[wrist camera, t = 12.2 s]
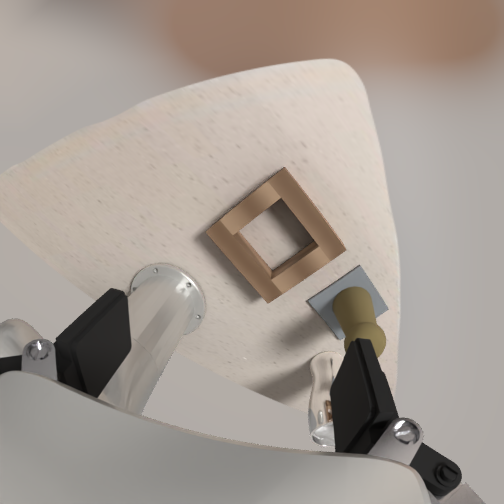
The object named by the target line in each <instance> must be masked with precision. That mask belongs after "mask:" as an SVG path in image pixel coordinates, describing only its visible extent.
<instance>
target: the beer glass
mask: <svg viewBox="0 0 504 504" xmlns="http://www.w3.org/2000/svg"><path fill="white" fill-rule="evenodd" d="M343 359H344V357H343V356H342V355H341V354H339V353H337V352H333V351H327V352H322V353H320V354H318V355H316V356H315V357H314V358H313V359H312V360H311V362H310V366H309V367H310V372H311V375H312V379H313V384H312V389H311V394H310V399H309V405H308V423H309V431H310V440H311V442H312V443H314V444H315V445H318V446H321V447H335V440H334V429H333V419H332V409H331V399H330V389H331V386H332V383H333V381H334V379H335V377H336V375H337V372H338V370H339V368H340V366H341V363H342V361H343Z"/></svg>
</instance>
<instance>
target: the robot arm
mask: <svg viewBox="0 0 504 504" xmlns="http://www.w3.org/2000/svg"><path fill="white" fill-rule="evenodd" d="M189 282H190V283H191V284H190V283H189ZM205 311H206V303H205V297H204V295H203V292H202V290H201V288H200V287H199V285H198V283H197V282H196V281H195V280H194V279H193V278H192V277H191V276H190V275H189V274H188V273H187V272H185V271H183V270H182V269H180V268H178V267H176V266H173V265H169V264H161V263H158V264H152V265H149V266H147V267H145V268H144V269H142V270H141V271H140V272H139V273H138V274H137V275H136V276H135V278H134V280H133V282H132V285H131V295H130V296H129V297H127V296H126V295H125V293H124V292H123V291H121V290H117V289H113V288H111V289H109V290H108V291H107V292H106V293H105V294H104V295H102V296H101V297H100V298H99V299H98V300H97V301H96V302H95V303H93V304H92V305H91V306H90V307H89V308H88V309H87V310H86V311H85V312H84V313H83V314H81V315H80V316H79V317H78V318H77V319H76V320H75V321H74V322H73V323H72V324H71V325H69V326H68V327H67V328H66V329H65V330H64V331H63V332H62V333H61V334H60V335H59V336H58V337H57V338H56V342H55V343H54V344H53V343H52V342H50V341H49V340H46V339H43V338H42V337H41V336H40V334H39V333H38V332H37V331H36V330H35V329H34V328H33V327H32V326H31V325H29V324H28V323H27V322H25V321H23V320H20V319H8V320H6V321H4V322H2V323H0V504H485V503H484V502H483V500H482V499H481V498H480V497H479V496H478V495H477V494H476V493H475V492H474V491H473V490H472V489H471V487H470V486H469V485H468V484H467V483H464V484H462V483H461V479H462V474H461V470H460V468H459V467H458V466H457V465H456V464H455V463H454V462H452V461H451V460H449V459H447V458H446V457H444V456H443V455H441V454H439V453H438V452H436V451H435V450H433V449H432V448H430V447H429V446H427V445H425V444H424V443H422V440H423V437H424V436H423V431H422V428H421V427H420V426H419V424H418V423H416V422H415V421H414V420H411V419H409V418H399V416H398V413H397V410H396V406H395V403H394V400H393V397H392V394H391V391H390V388H389V385H388V382H387V379H386V376H385V374H384V372H382V370H381V367H380V365H379V362H378V359H377V356H376V353H375V350H374V347H373V345H372V342H371V340H370V339H363V338H356V339H355V341H351V342H350V344H349V347H348V349H347V352H346V354H345V356H344V359H343V361H342V363H341V366H340V368H339V370H338V372H337V375H336V377H335V379H334V381H333V383H332V386H331V389H330V399H331V409H332V419H333V429H334V440H335V452H321V451H309V450H299V449H288V448H280V447H272V446H265V445H259V444H252V443H247V442H241V441H236V440H231V439H226V438H221V437H216V436H212V435H207V434H203V433H199V432H195V431H191V430H187V429H184V428H180V427H177V426H173V425H170V424H167V423H163V422H160V421H157V420H154V419H151V418H148V417H144V416H142V415H141V414H142V412H143V410H144V407H145V405H146V403H147V401H148V399H149V397H150V395H151V393H152V391H153V389H154V387H155V385H156V383H157V381H158V380H159V378H160V376H161V374H162V372H163V370H164V369H165V367H166V365H167V363H168V361H169V359H170V358H171V356H172V354H173V352H174V350H175V348H176V347H177V345H178V343H179V341H180V339H181V337H182V336H183V335H186V334H189V333H191V332H193V331H194V330H195V329H197V328H198V327H199V325H200V324H201V322H202V320H203V318H204V315H205Z"/></svg>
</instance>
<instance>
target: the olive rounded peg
mask: <svg viewBox="0 0 504 504" xmlns="http://www.w3.org/2000/svg"><path fill="white" fill-rule="evenodd" d="M333 312H334V314H335V316H336V318H337V320H338V322H339V324H340V326H341V328H342V330H343V332H344V334H345V336H346V337H345V340H344V348H345V351H346V352H347V349H348V347H349V344H350V342H351V341H355V339H356V338H363V339H370V340H371V342H372V345H373V347H374V350H375V353H376V356H377V358H378V357H379V356H380V355H381V354H382V353H383V351H384V348H385V346H386V337H385V334H384V331H383V330H382V329H381V328H380V327H379V326H378V325H377V323H376V317H375V312H374V307H373V303H372V298H371V296H370V294H369V292H368V291H367V290H365V289H364V288H362V287H356V286H354V287H348V288H346V289H344V290H342V291H341V292H339V293H338V294H337V296H336V297H335V299H334V301H333Z"/></svg>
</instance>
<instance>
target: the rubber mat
mask: <svg viewBox="0 0 504 504" xmlns="http://www.w3.org/2000/svg"><path fill="white" fill-rule="evenodd" d="M354 286H356V287H362V288H364V289H365V290H367V291H368V292H369V294H370V296H371V298H372V303H373V307H374V312H375V317H376V318H377V317H378V316H380V315H381V314H383V313H384V312H386V311H387V310H389V309H388V307H387V306H386V304H385V302H384V301H383V299H382V298H381V296H380V295H379V293H378V291H377V290H376V288H375V287H374V285H373V284H372V282H371V281H370V279H369V278H368V276H367V275H366V273H365V272H364V270H363V269H362V267H361V266H360V265H359V266H357V267H356V268H354V269H353V270H352V271H350V272H349V273H347V274H346V275H344V276H343V277H341V278H340V279H338V280H337V281H336V282H334V283H333V284H331V285H330V286H328V287H327V288H325V289H324V290H322V291H321V292H319V293H318V294H316V295H315V296H313V297H312V298H310V299H308V302H309V303H310V304H311V305H312V306H313V308H314V309H315V310H316V311H317V313H318V314H319V315H320V316H321V317H322V319H323V320H324V321H325V322H326V324H327V325H328V326H329V327H330V328H331V330H332V331H333V332H334V333H335V335H336V336H337V337H338V338H339V339H340V340H341V339H343V338H345V337H346V336H345V334H344V332H343V330H342V328H341V326H340V324H339V322H338V320H337V318H336V316H335V314H334V312H333V301H334V299H335V297H336V296H337V294H338V293H339V292H341V291H342V290H344V289H346V288H348V287H354Z"/></svg>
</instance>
